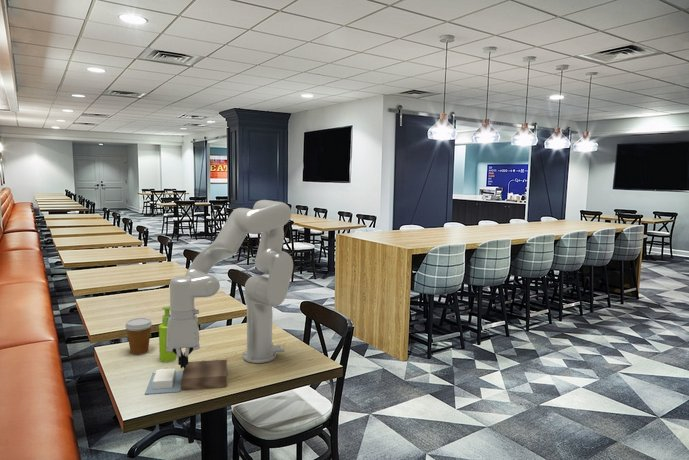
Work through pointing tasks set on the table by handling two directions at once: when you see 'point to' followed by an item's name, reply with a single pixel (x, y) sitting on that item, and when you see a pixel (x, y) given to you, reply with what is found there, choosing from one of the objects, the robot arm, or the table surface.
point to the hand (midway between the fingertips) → (183, 366)
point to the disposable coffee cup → (138, 335)
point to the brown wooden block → (204, 375)
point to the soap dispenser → (165, 338)
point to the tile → (164, 378)
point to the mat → (174, 389)
